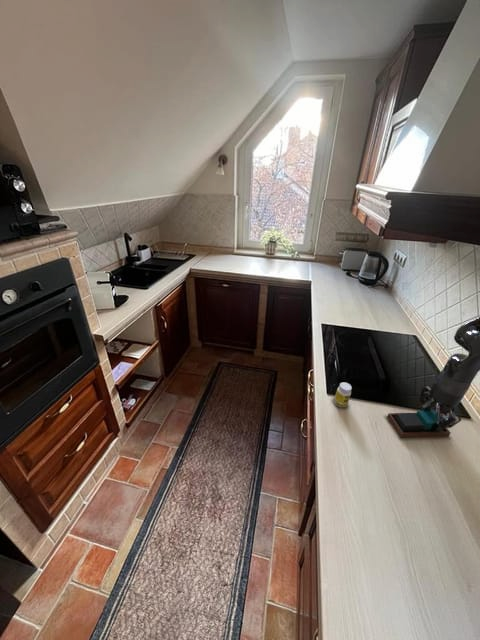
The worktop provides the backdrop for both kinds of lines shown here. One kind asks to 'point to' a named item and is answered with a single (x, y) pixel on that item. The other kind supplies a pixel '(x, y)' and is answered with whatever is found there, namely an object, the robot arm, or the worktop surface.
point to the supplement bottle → (343, 394)
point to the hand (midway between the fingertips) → (428, 422)
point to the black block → (409, 422)
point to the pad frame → (422, 434)
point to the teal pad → (427, 418)
